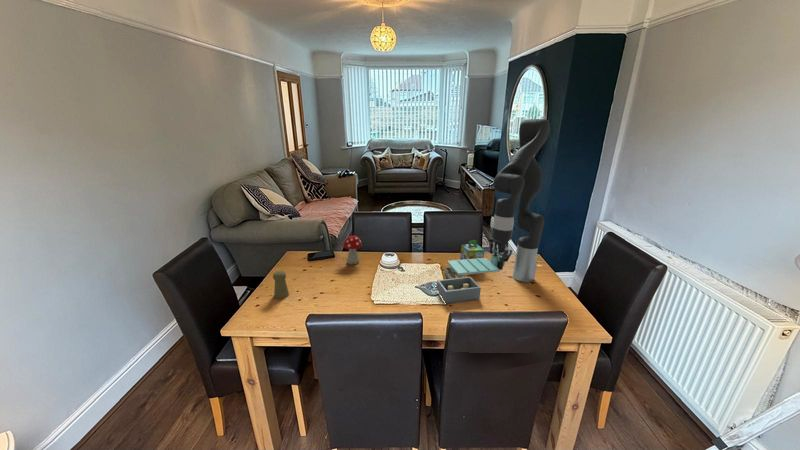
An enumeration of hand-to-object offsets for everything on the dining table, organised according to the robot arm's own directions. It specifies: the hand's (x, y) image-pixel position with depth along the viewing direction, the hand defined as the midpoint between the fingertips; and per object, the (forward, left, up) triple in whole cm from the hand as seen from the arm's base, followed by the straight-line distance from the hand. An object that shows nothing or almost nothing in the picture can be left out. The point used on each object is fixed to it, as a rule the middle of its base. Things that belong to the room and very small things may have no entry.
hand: (497, 267), depth 129 cm
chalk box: (-8, -36, -19) cm, 41 cm away
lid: (+8, 0, +1) cm, 9 cm away
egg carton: (+5, -28, -19) cm, 34 cm away
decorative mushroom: (+51, -55, -19) cm, 77 cm away
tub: (+10, -12, -18) cm, 24 cm away
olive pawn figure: (+85, -29, -19) cm, 91 cm away
